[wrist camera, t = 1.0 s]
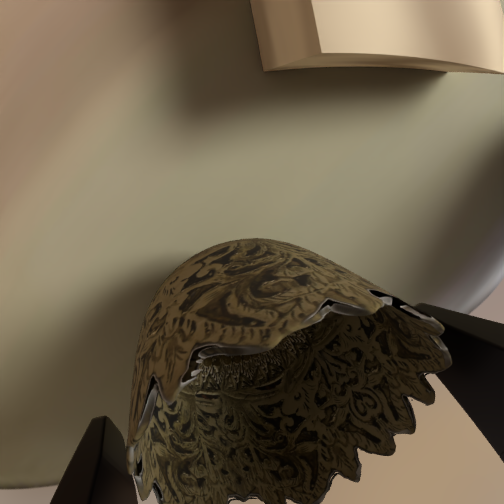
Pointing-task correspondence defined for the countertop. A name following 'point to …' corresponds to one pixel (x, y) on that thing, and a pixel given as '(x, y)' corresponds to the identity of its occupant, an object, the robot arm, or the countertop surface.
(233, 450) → the cup
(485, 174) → the countertop surface
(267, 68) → the pedestal
